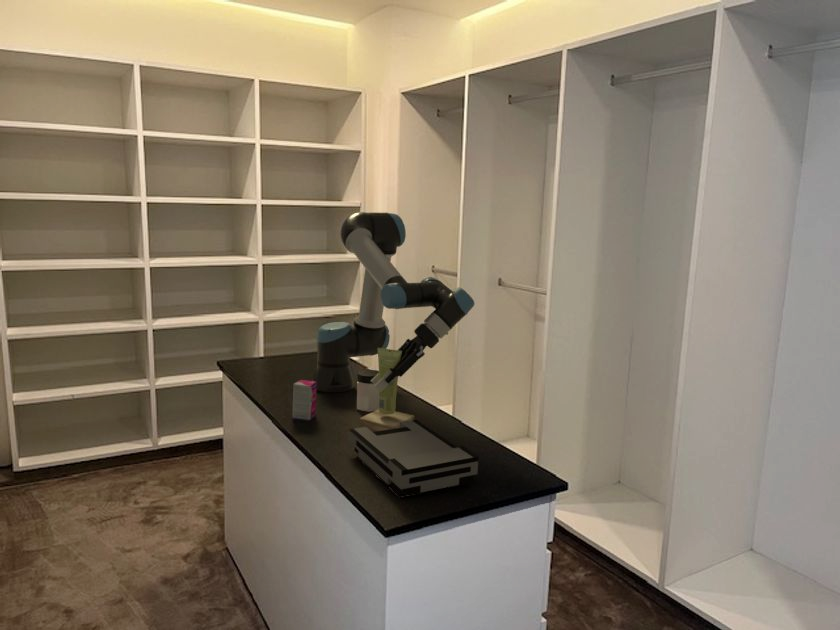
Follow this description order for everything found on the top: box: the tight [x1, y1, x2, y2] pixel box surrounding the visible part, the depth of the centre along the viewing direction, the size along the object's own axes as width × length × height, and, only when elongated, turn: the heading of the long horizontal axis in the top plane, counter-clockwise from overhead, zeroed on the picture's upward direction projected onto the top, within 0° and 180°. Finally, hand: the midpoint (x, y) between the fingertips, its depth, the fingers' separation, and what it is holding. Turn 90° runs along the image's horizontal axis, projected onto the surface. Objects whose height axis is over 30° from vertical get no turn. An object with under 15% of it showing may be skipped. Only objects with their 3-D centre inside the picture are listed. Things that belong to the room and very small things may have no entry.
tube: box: [377, 348, 402, 414], centre depth 189 cm, size 6×5×20 cm
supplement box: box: [291, 379, 317, 422], centre depth 198 cm, size 6×6×12 cm
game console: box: [347, 419, 479, 498], centre depth 163 cm, size 21×32×8 cm, turn 28°
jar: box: [356, 369, 379, 413], centre depth 210 cm, size 9×8×12 cm
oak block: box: [358, 409, 415, 432], centre depth 191 cm, size 12×12×4 cm
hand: (375, 386), depth 188 cm, fingers closed on tube, 5 cm apart
